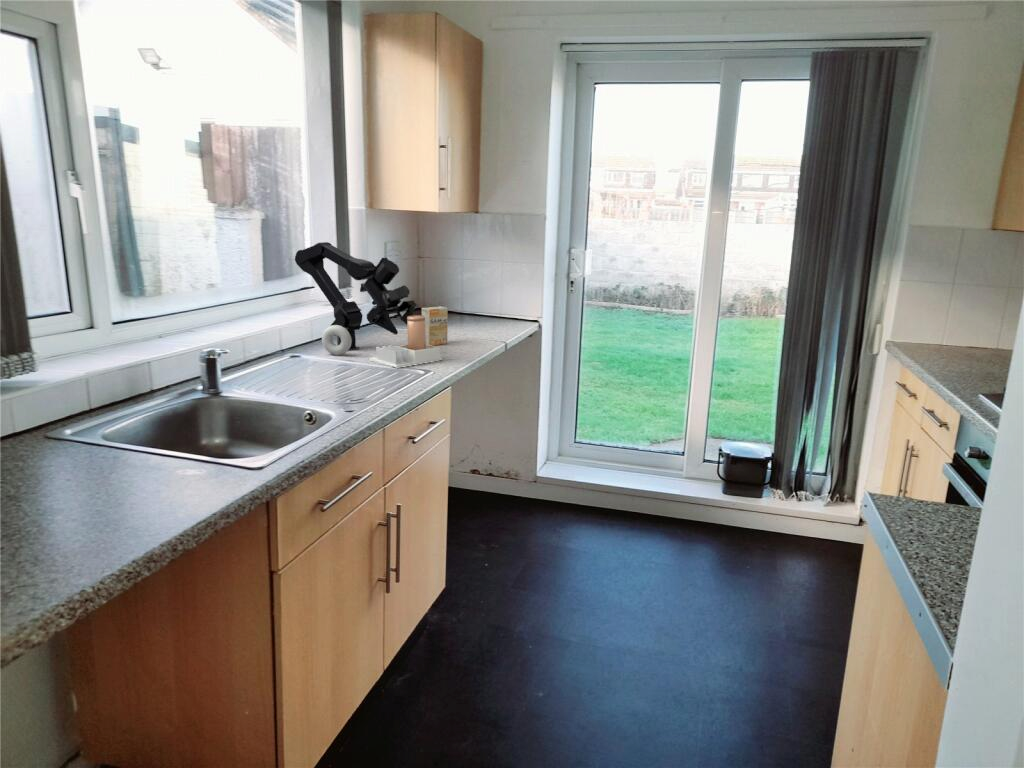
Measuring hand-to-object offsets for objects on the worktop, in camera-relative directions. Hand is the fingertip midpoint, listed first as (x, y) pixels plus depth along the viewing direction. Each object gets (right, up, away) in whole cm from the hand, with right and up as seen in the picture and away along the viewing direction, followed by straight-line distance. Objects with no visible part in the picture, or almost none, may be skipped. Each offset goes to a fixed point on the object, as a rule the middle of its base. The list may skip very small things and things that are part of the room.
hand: (406, 331), depth 228 cm
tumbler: (+3, -8, 0) cm, 9 cm away
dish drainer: (0, -9, -1) cm, 9 cm away
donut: (-23, -8, +5) cm, 25 cm away
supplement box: (+6, -3, +26) cm, 27 cm away
